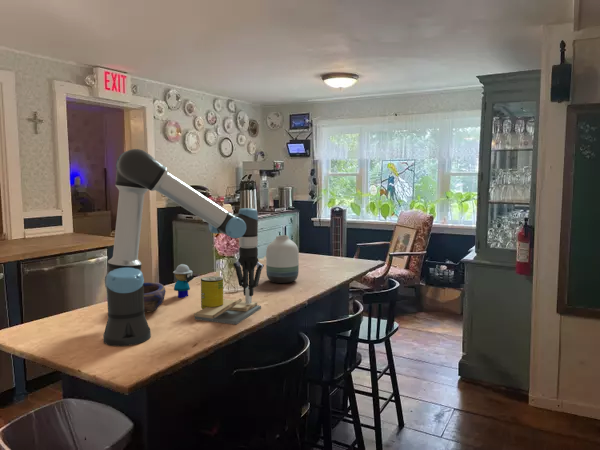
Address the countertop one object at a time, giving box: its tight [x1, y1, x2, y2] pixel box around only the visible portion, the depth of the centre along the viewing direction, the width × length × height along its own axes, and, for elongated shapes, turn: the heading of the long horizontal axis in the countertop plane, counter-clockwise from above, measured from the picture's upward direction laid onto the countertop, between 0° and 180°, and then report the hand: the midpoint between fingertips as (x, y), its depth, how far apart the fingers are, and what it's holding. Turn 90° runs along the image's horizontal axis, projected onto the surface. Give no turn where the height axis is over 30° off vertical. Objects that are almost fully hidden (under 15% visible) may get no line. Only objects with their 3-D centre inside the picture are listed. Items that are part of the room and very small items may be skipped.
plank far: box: [229, 300, 258, 311], centre depth 190 cm, size 10×8×1 cm
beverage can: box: [200, 275, 224, 310], centre depth 190 cm, size 9×9×12 cm
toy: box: [172, 263, 194, 299], centre depth 211 cm, size 8×9×15 cm
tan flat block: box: [214, 298, 243, 317], centre depth 179 cm, size 10×8×1 cm
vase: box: [265, 234, 300, 284], centre depth 241 cm, size 17×17×24 cm
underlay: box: [194, 298, 262, 325], centre depth 186 cm, size 22×18×2 cm
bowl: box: [143, 282, 167, 313], centre depth 190 cm, size 18×18×10 cm
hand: (248, 303), depth 189 cm, fingers closed
